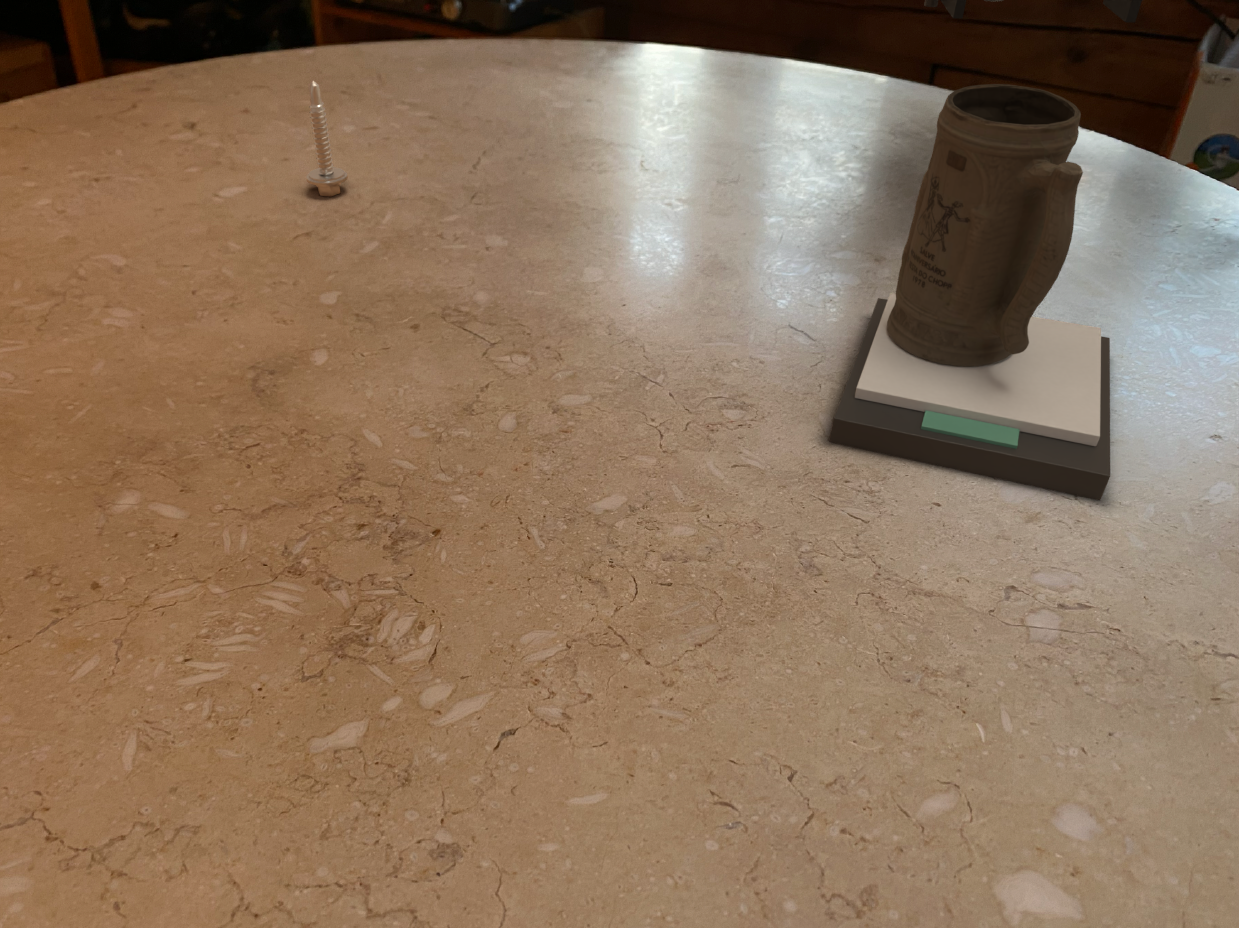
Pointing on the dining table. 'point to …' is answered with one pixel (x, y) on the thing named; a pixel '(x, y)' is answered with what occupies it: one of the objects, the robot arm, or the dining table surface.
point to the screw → (323, 149)
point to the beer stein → (987, 225)
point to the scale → (987, 407)
